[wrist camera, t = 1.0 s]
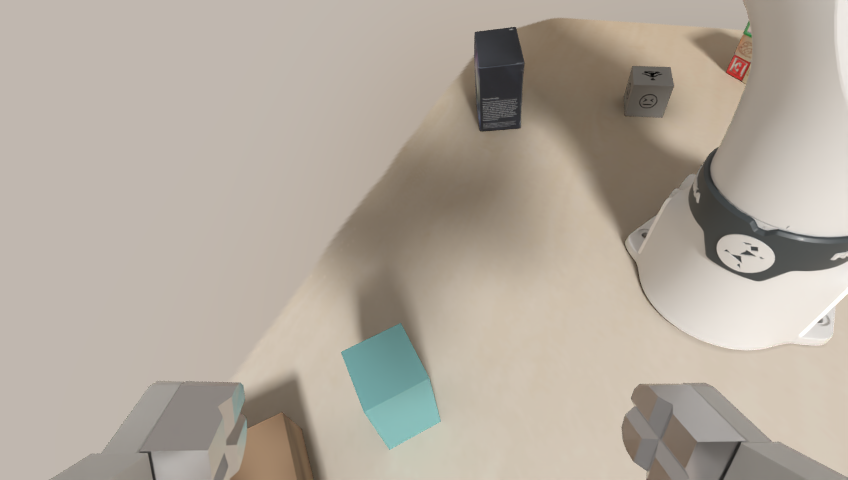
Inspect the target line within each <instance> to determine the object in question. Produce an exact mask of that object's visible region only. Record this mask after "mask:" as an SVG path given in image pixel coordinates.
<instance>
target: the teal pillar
mask: <svg viewBox="0 0 848 480" xmlns="http://www.w3.org/2000/svg"><path fill="white" fill-rule="evenodd" d="M341 353H342V356H343V359H344V361H345V364H346V366H347V369H348V372H349V374H350V377H351V380H352V382H353V385H354V387H355V390H356V393H357V395H358V398H359V400H360V403H361V406H362V408H363V411H364V413H365V414H366V416H367V417H368V419H369V420H370V422H371V423H372V425H373V426H374V428H375V429H376V431H377V432H378V434H379V435H380V436H381V438H382V439H383V441H384V442H385V444H386V445H387V447H388V448H389V450H390V449H392V448H394V447H395V446H397V445H399V444H401V443H403V442H404V441H406V440H408V439H410V438H412V437H414V436H415V435H417V434H419V433H421V432H423V431H424V430H426V429H428V428H430V427H432V426H433V425H435V424H437V423H439V422H441V421H440V417H439V413H438V409H437V406H436V402H435V398H434V394H433V390H432V387H431V383H430V379H429V377H428V375H427V373H426V371H425V369H424V367H423V365H422V363H421V361H420V359H419V357H418V355H417V353H416V351H415V350H414V348H413V346H412V344H411V342H410V340H409V338H408V336H407V334H406V332H405V330H404V328H403V326H402V324H401V323H400V324H398V325H395V326H393V327H391V328H389V329H387V330H385V331H383V332H381V333H379V334H377V335H375V336H373V337H371V338H369V339H367V340H365V341H363V342H361V343H359V344H356V345H354V346H352V347H350V348H348V349H346V350H344V351H342V352H341Z"/></svg>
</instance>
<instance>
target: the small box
mask: <svg viewBox="0 0 848 480" xmlns="http://www.w3.org/2000/svg"><path fill="white" fill-rule="evenodd" d="M474 49H475V50H474V58H475V87H476V102H477V112H478V120H479V127H480V131H492V130H505V129H517V128H520V127H521V103H522V83H523V73H524V59H523V55H522V51H521V46H520V42H519V38H518V34H517V30H516V27H511V28H504V29H495V30H487V31H479V32H475V44H474Z"/></svg>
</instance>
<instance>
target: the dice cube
mask: <svg viewBox="0 0 848 480" xmlns="http://www.w3.org/2000/svg"><path fill="white" fill-rule="evenodd" d="M673 87H674V84H673V78H672V73H671V67H645V66H632V69H631V73H630V77H629V80H628V84H627V87H626V91H625V94H624V110H625V116H639V117H658V118H662V117H663V114H664V111H665V109H666V106H667V103H668V101H669V98H670V95H671V93H672V90H673Z"/></svg>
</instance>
